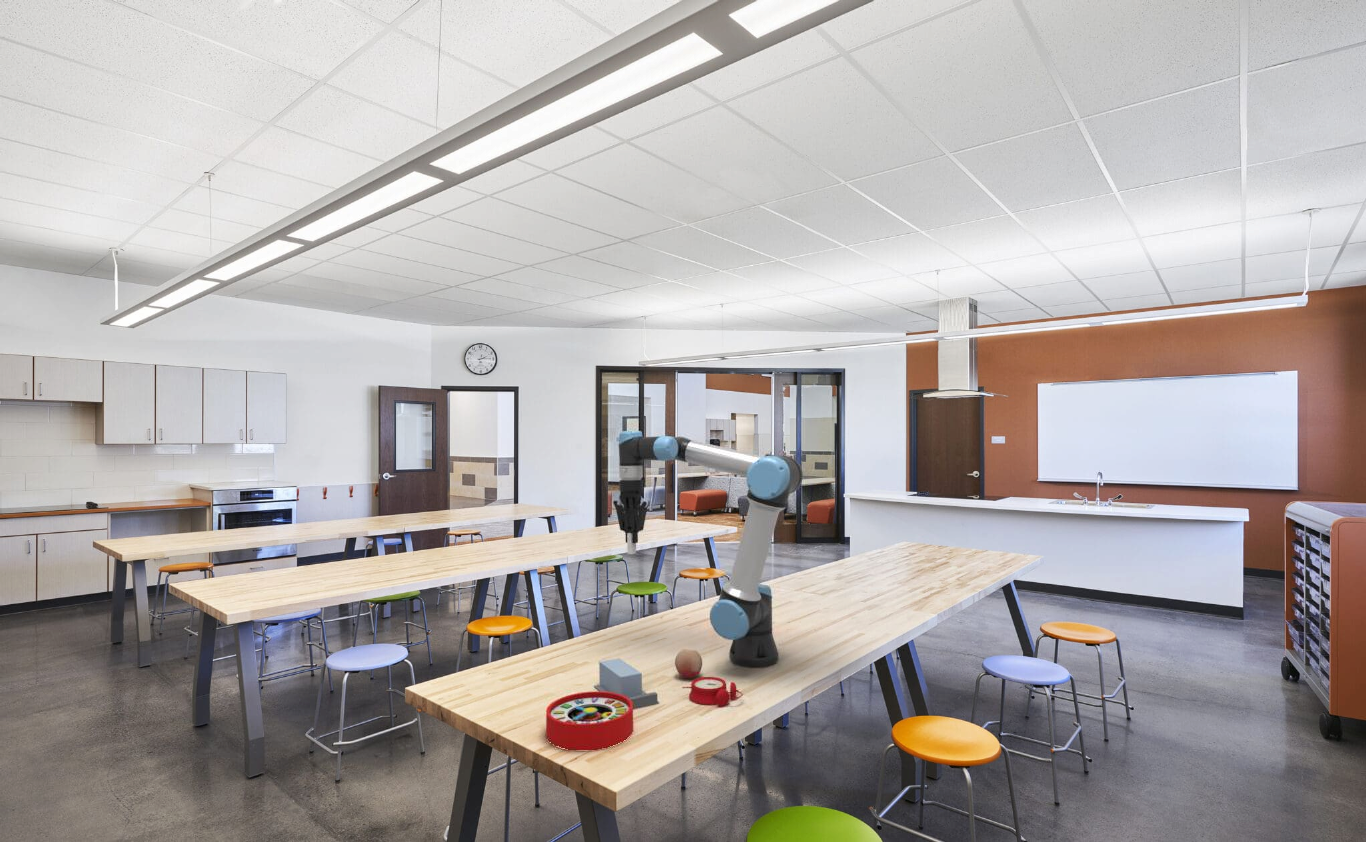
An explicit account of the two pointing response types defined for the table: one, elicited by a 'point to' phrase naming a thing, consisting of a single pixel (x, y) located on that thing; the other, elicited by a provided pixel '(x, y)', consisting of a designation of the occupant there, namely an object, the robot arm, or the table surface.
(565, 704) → the toy clock
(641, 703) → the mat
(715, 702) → the alarm clock
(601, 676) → the blue-grey rectangular block
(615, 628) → the table surface
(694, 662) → the fruit
